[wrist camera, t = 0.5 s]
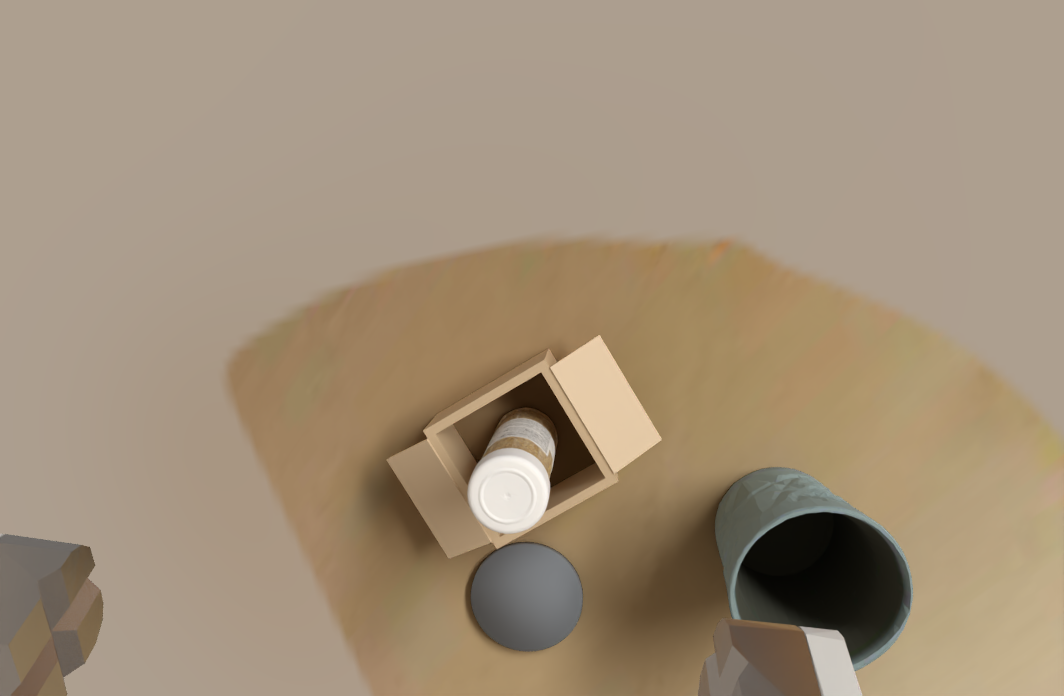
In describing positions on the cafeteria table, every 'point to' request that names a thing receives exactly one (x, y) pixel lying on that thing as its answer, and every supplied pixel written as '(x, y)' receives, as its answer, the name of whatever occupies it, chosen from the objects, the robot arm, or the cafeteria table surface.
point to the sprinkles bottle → (514, 472)
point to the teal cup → (811, 562)
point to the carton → (590, 403)
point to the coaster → (526, 596)
